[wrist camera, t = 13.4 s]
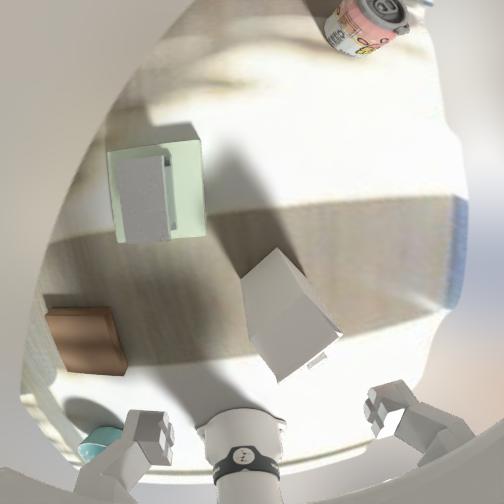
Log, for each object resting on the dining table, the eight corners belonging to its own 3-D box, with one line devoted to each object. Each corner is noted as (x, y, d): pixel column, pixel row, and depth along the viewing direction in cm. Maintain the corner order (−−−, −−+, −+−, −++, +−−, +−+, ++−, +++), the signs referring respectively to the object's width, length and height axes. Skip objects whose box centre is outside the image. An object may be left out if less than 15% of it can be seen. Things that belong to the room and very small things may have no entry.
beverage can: (355, 7, 30) (391, -26, 19) (386, 48, 32) (430, 25, 21) (310, 23, 31) (339, -16, 19) (344, 67, 33) (384, 41, 22)
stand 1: (127, 365, 45) (123, 376, 42) (73, 362, 44) (67, 371, 41) (109, 307, 41) (103, 316, 38) (52, 307, 40) (44, 315, 38)
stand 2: (207, 230, 39) (206, 235, 36) (124, 237, 38) (117, 243, 35) (201, 141, 35) (199, 139, 33) (115, 152, 34) (107, 152, 32)
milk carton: (239, 279, 42) (252, 365, 24) (276, 246, 41) (316, 314, 23) (272, 309, 44) (300, 399, 26) (307, 279, 43) (358, 356, 25)
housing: (171, 156, 33) (161, 155, 27) (178, 227, 36) (169, 240, 30) (133, 161, 32) (116, 161, 27) (140, 231, 35) (126, 244, 30)
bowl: (106, 452, 54) (100, 476, 46) (75, 415, 49) (64, 440, 41) (158, 454, 55) (155, 480, 47) (130, 416, 50) (122, 445, 42)
